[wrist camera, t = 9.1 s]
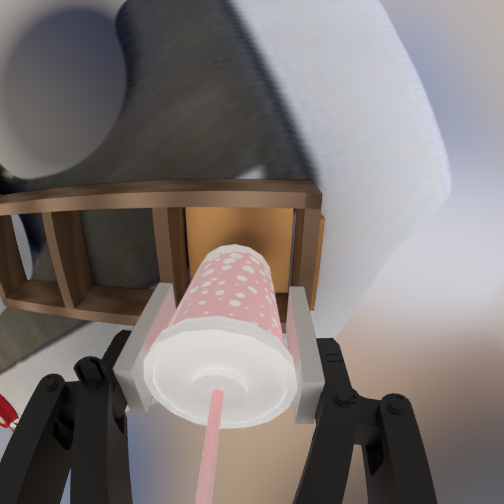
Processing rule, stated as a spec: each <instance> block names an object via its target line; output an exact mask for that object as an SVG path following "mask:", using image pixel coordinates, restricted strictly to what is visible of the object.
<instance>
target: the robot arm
mask: <svg viewBox="0 0 504 504" xmlns="http://www.w3.org/2000/svg"><path fill="white" fill-rule="evenodd" d="M175 311H176V306H175V299H174V291H173V284H172V283H159V284H158V285H157V287H156V289H155V291H154V292H153V294H152V296H151V298H150V300H149V301H148V303H147V305H146V307H145V309H144V310H143V312H142V314H141V316H140V318H139V320H138V321H137V323H136V325H135V327H134V329H133V331H128V330H122V331H120V332H119V333H118V334H117V335H116V336H115V337H114V338H113V340H112V342H111V345H109V347H108V349H107V351H106V352H105V354H104V356H103V358H102V360H101V359H99V358H97V357H92V356H89V357H84V358H83V359H81V360H79V361H78V362H77V363H76V364H75V366H74V371H75V373H76V375H77V377H78V379H79V381H73V382H65V380H64V379H63V377H62V376H61V375H58V374H49V375H46V376H45V377H43V378H42V379H41V381H40V382H39V384H38V386H37V387H36V389H35V391H34V393H33V395H32V397H31V398H30V400H29V402H28V404H27V406H26V408H25V410H24V412H23V414H22V416H21V418H20V420H19V422H18V424H17V426H16V428H15V430H14V432H13V435H12V437H11V439H10V441H9V443H8V445H7V448H6V450H5V452H4V455H3V457H2V459H1V462H0V504H60V502H61V498H62V495H63V491H64V488H65V484H66V481H67V477H68V474H69V471H70V468H71V484H70V486H71V487H70V489H71V490H70V504H133V502H132V492H131V482H130V472H129V458H128V436H127V416H126V413H125V409H126V406H127V404H128V406H129V409H130V411H131V412H137V413H142V414H147V413H148V410H149V407H150V404H151V401H152V398H153V395H152V393H151V392H150V390H149V388H148V386H147V385H146V383H145V380H144V359H145V357H146V355H147V354H148V352H149V351H150V347H151V346H152V344H153V343H154V341H155V340H156V339H157V337H158V336H159V334H160V333H161V332H162V330H164V329H166V328H167V327H168V325H169V323H170V321H171V319H172V317H173V315H174V313H175ZM286 334H287V344H288V351H289V353H290V354H291V355H292V357H293V362H294V366H295V372H296V382H297V393H296V395H295V397H294V399H293V408H294V420H295V424H313V423H314V419H316V428H315V432H314V435H313V438H312V443H311V446H310V450H309V453H308V456H307V460H306V463H305V466H304V470H303V473H302V476H301V479H300V483H299V485H298V488H297V492H296V495H295V497H294V500H293V503H292V504H342V500H343V496H344V492H345V488H346V483H347V478H348V473H349V468H350V463H351V458H352V452H353V445H354V444H358V445H361V446H362V453H363V460H364V468H365V476H366V485H367V495H368V504H437V500H436V495H435V490H434V486H433V481H432V477H431V473H430V469H429V465H428V461H427V457H426V453H425V449H424V446H423V442H422V439H421V435H420V432H419V428H418V425H417V421H416V418H415V415H414V412H413V409H412V405H411V403H410V401H409V400H408V399H407V398H406V397H405V396H403V395H400V394H393V393H392V394H388V395H386V396H384V397H383V398H382V400H375V399H368V398H365V397H362V396H360V395H359V394H358V393H357V391H355V390H354V389H353V388H352V386H351V384H350V380H349V377H348V373H347V369H346V366H345V363H344V359H343V356H342V353H341V349H340V346H339V344H338V343H337V342H336V341H335V340H334V339H333V338H316V337H315V332H314V328H313V323H312V319H311V315H310V310H309V306H308V302H307V297H306V293H305V289H304V287H290V286H289V298H288V310H287V321H286Z"/></svg>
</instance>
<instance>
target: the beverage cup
mask: <svg viewBox="0 0 504 504" xmlns="http://www.w3.org/2000/svg"><path fill="white" fill-rule="evenodd" d="M144 380H145V383H146V385H147V386H148V388H149V390H150V392H151V393H152V395H153V397H154V398H155V399H156V400H157V401H158V402H159V403H161V404H162V405H163V406H164V407H165V408H167V409H168V410H169V411H170V412H172V413H173V414H175V415H177V416H179V417H182V418H184V419H186V420H188V421H191V422H193V423H195V424H200V425H204V426H207V427H206V434H205V440H204V447H203V453H202V460H201V468H200V474H199V481H198V489H197V495H196V502H195V504H212V495H213V486H214V477H215V468H216V459H217V449H218V440H219V432H220V428H221V429H227V428H248V427H251V426H255V425H258V424H261V423H265V422H268V421H270V420H272V419H274V418H275V417H276V416H278V415H279V414H281V413H282V412H283V411H285V410H286V409H288V408H289V406H290V404H291V402H292V400H293V399H294V397H295V395H296V393H297V382H296V372H295V366H294V362H293V357H292V355H291V354H290V353H289V351H288V350H287V349H286V347H285V345H284V340H283V335H282V329H281V324H280V319H279V313H278V308H277V303H276V298H275V292H274V287H273V282H272V277H271V272H270V267H269V265H268V264H267V262H266V261H265V259H264V258H263V256H262V255H260V254H259V253H257V252H256V251H254V250H253V249H251V248H250V247H245V246H241V245H237V244H233V245H226V246H220V247H219V248H217V249H215V250H213V251H212V252H210V253H208V255H207V256H206V257H205V259H204V260H203V262H202V263H201V265H200V266H199V268H198V270H197V272H196V274H195V276H194V278H193V279H192V281H191V283H190V285H189V287H188V289H187V291H186V292H185V294H184V296H183V298H182V300H181V302H180V304H179V306H178V308H177V310H176V311H175V313H174V315H173V317H172V319H171V321H170V323H169V325H168V327H167V328H166V329H164V330H162V332H161V333H160V334H159V336H158V337H157V339H156V340H155V341H154V343H153V344H152V346H151V347H150V351H149V352H148V354H147V355H146V357H145V359H144Z"/></svg>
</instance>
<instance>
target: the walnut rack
mask: <svg viewBox="0 0 504 504" xmlns="http://www.w3.org/2000/svg"><path fill="white" fill-rule="evenodd" d="M321 204H322V193H321V191H320V190H319V189H318V188H317V187H316V186H315V185H314V183H313V182H312V181H299V180H268V179H186V180H156V181H136V182H119V183H105V184H93V185H81V186H71V187H61V188H52V189H44V190H35V191H28V192H20V193H13V194H7V195H1V196H0V296H1V299H2V302H3V304H4V306H7V307H12V308H17V309H23V310H28V311H33V312H39V313H44V314H50V315H56V316H63V317H69V318H76V319H83V320H90V321H98V322H106V323H114V324H123V325H133V326H135V325H136V323H137V321H138V320H139V318H140V316H141V314H142V312H143V310H144V309H145V307H146V305H147V303H148V301H149V300H150V298H151V296H152V294H153V292H154V291H155V290H151V289H134V288H118V287H104V286H94V282H93V278H92V274H91V270H90V265H89V261H88V256H87V251H86V246H85V241H84V236H83V230H82V225H81V219H80V212H79V210H93V209H119V208H152V213H153V223H154V233H155V242H156V250H157V258H158V266H159V273H160V280H161V283H172V284H173V291H174V299H175V306H176V310H177V308H178V306H179V304H180V302H181V300H182V298H183V296H184V294H185V292H186V291H187V289H188V287H189V279H188V268H187V257H186V245H185V232H184V217H183V207H185V209H186V225H187V239H188V252H189V264H190V275H191V281H192V279H193V278H194V276H195V274H196V272H197V270H198V268H199V266H200V265H201V263H202V262H203V260H204V259H205V257H206V256H207V255H208V253H210V252H212V251H213V250H215V249H217V248H219V247H220V246H226V245H233V244H237V245H241V246H245V247H250V248H251V249H253V250H254V251H256V252H257V253H259V254H260V255H262V256H263V258H264V259H265V261H266V262H267V264H268V265H269V267H270V272H271V277H272V282H273V287H274V292H275V293H288V283H289V270H290V256H291V241H292V225H293V208H295V209H296V224H295V240H294V254H293V267H292V280H291V287H304V289H305V293H306V297H307V302H308V306H309V310H310V311H314V306H315V299H316V292H317V284H318V276H319V268H320V259H321V251H322V241H323V231H324V221H325V219H324V217H323V215H322V214H321ZM39 212H42V217H43V223H44V228H45V232H46V237H47V242H48V246H49V250H50V254H51V258H52V262H53V266H54V270H55V274H56V277H57V281H58V283H56V282H45V281H36V280H27V277H26V274H25V271H24V267H23V264H22V260H21V257H20V253H19V249H18V245H17V242H16V237H15V233H14V228H13V224H12V219H11V215H13V214H25V213H39ZM275 298H276V303H277V308H278V313H279V319H280V324H281V329H282V333H286V321H287V310H288V298H289V294H275Z"/></svg>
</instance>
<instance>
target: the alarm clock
mask: <svg viewBox="0 0 504 504" xmlns="http://www.w3.org/2000/svg"><path fill="white" fill-rule="evenodd" d="M17 418H18V417H17V414H16V412H15V410H14V409H13V408H12V407H11V405H10V404H9V403H8V402H7V401H6V400H5V399H4V398H3V397H2V396H1V395H0V425H1V426H2V427H4V428H8V427H9V428H10V426H9V425H10V423H11V422H13V421H14V420H16V419H17ZM13 423H14V422H13ZM14 424H15V425H17V423H14ZM10 429H11V428H10ZM11 430H12V429H11ZM12 431H14V430H12Z"/></svg>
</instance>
